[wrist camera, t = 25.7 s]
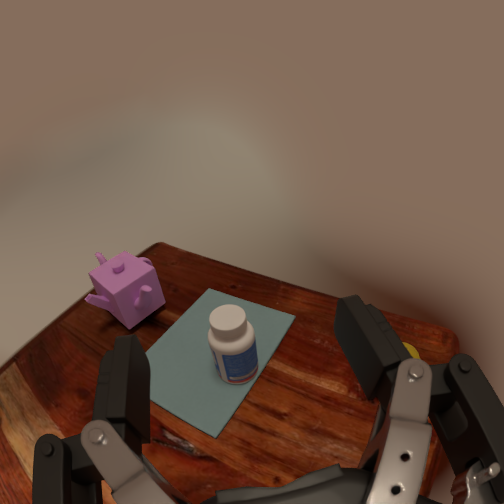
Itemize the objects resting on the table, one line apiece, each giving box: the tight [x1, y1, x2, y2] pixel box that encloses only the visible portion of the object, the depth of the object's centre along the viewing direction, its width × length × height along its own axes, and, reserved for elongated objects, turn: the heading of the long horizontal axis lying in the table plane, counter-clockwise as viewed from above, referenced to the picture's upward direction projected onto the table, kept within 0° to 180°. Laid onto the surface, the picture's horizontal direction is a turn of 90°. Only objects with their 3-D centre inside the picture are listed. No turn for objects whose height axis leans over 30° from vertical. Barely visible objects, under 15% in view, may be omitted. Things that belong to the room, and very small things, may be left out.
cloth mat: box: [145, 288, 295, 438], centre depth 39 cm, size 16×22×1 cm
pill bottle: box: [208, 304, 258, 384], centre depth 34 cm, size 6×5×10 cm
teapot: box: [85, 251, 166, 329], centre depth 44 cm, size 18×13×10 cm
